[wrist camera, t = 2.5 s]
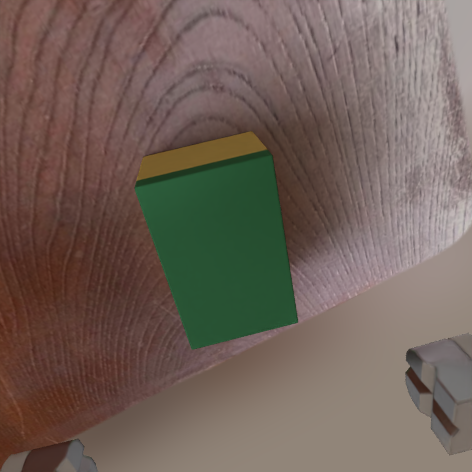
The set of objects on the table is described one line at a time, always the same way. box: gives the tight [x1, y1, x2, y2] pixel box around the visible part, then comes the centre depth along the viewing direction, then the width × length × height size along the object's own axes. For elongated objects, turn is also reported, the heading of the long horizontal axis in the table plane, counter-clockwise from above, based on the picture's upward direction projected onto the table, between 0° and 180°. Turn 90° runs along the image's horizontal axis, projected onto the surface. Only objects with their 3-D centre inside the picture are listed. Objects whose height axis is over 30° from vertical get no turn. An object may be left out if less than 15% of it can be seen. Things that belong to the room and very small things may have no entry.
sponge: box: [135, 131, 298, 349], centre depth 17 cm, size 8×5×4 cm, turn 11°
